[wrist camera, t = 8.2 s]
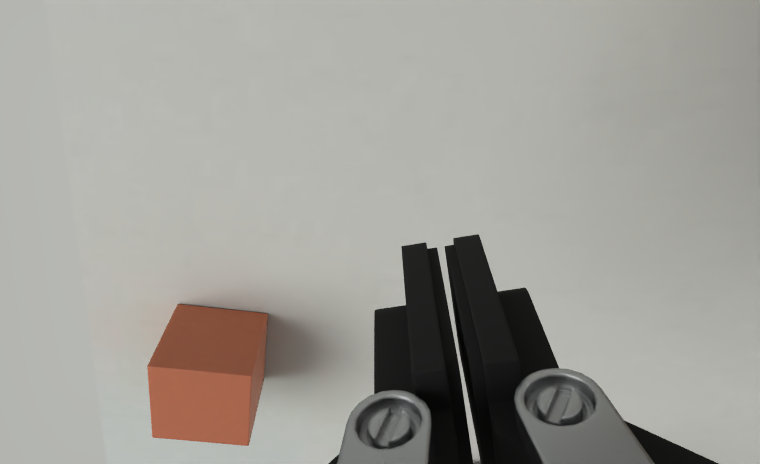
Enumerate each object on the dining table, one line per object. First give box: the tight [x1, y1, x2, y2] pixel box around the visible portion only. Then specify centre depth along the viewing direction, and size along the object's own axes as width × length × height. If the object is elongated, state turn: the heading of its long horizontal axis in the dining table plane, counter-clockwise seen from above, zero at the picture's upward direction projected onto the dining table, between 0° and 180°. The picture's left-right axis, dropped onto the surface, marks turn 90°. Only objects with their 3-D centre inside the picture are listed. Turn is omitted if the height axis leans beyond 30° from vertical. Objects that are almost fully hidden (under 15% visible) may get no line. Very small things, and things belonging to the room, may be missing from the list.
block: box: [147, 304, 268, 446], centre depth 28 cm, size 4×4×4 cm
